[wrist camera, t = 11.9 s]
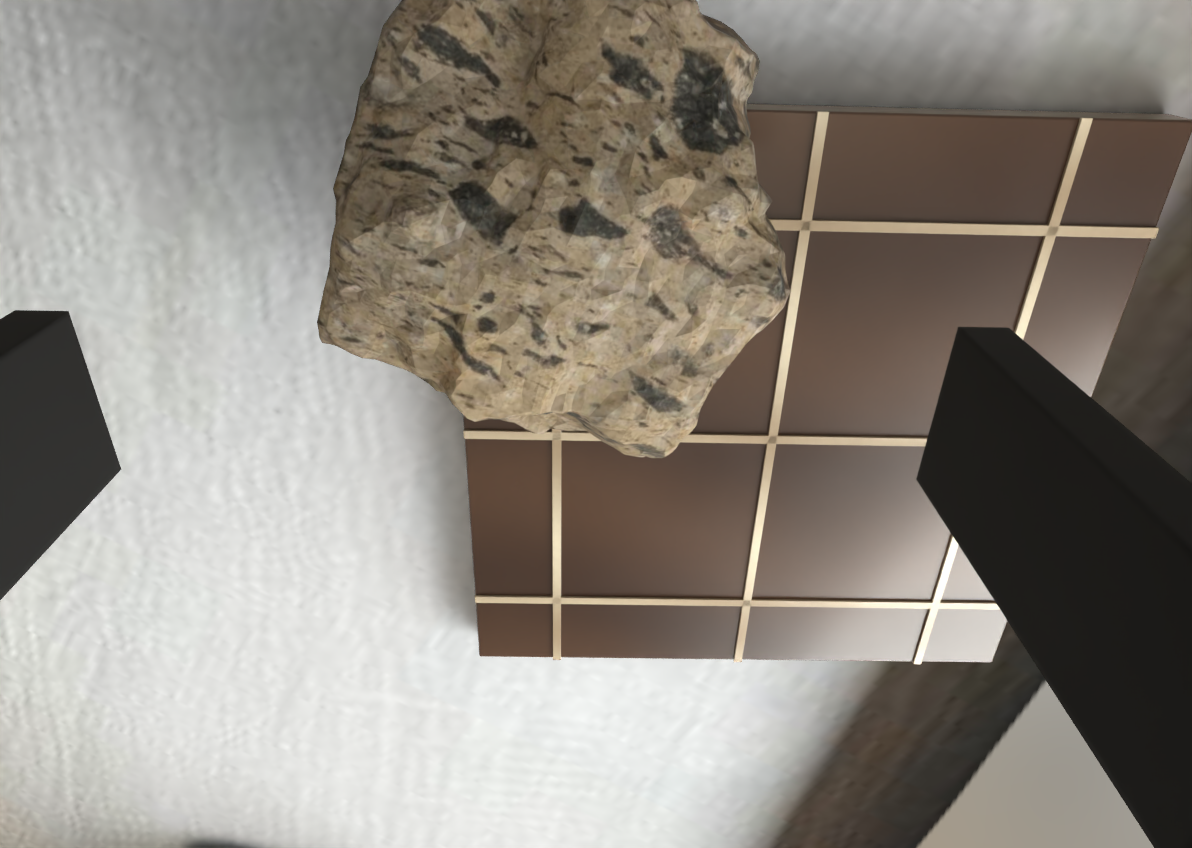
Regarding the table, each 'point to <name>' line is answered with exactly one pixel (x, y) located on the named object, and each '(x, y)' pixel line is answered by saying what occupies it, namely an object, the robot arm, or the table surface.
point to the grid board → (829, 399)
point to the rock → (556, 213)
